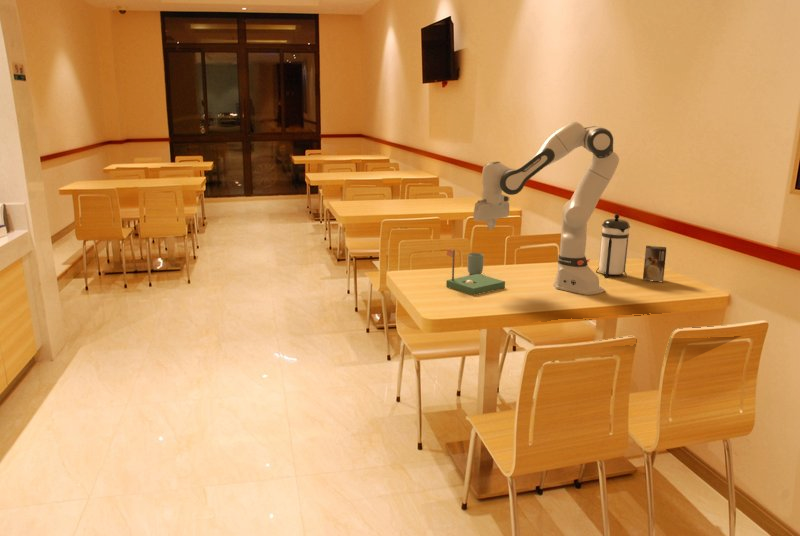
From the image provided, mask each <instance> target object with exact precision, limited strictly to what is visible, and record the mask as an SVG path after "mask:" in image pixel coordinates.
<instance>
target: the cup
mask: <svg viewBox="0 0 800 536" xmlns="http://www.w3.org/2000/svg"><path fill="white" fill-rule="evenodd" d="M484 256H485V255H484V253H480V252H470V253H468V254H467V265H466V266H467V272H468V274H469V275H474V274H481V275H482V273H483V270H484V262H485V261H484V260H485V259H484V258H485V257H484Z"/></svg>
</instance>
